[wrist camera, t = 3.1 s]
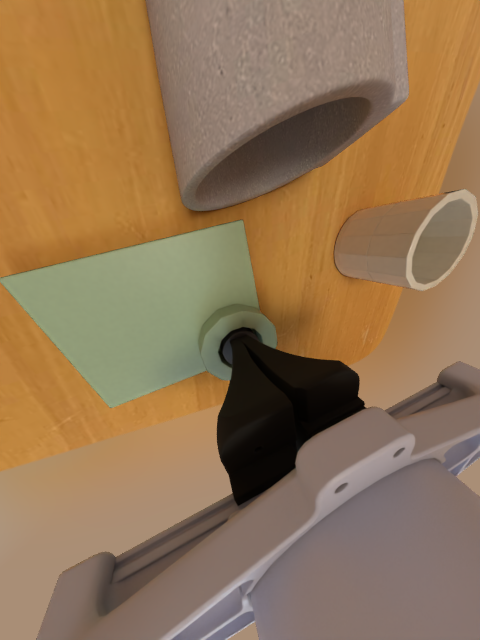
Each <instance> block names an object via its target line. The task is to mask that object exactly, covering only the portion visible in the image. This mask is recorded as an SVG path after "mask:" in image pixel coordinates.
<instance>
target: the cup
mask: <svg viewBox="0 0 480 640" xmlns="http://www.w3.org/2000/svg"><path fill="white" fill-rule="evenodd" d="M477 217H478V208H477V202H476V196H474V195H473V194H472V193H470V192H469V191H468V190H466V189H462V190H457V191H452V192H446V193H441V194H436V195H431V196H426V197H420V198H415V199H410V200H405V201H400V202H395V203H389V204H384V205H379V206H374V207H371V208H366V209H362V210H359V211H358V212H356V213H355V214H353V215H352V216H351V217H350V218H349V219H348V220H347V221H346V222H345V224H344V225H343V227H342V228H341V230H340V232H339V234H338V237H337V240H336V243H335V249H334V259H335V264H336V266H337V268H338V270H339V271H340V272H341V273H342V274H343V275H345V276H348V277H352V278H357V279H362V280H367V281H372V282H377V283H383V284H388V285H393V286H398V287H403V288H409V289H414V290H419V291H424V290H426V289H429V288H431V287H434V286H436V285H437V284H439V283H440V282H441V281H442V280H443V279H444V278H445V277H447V276H448V275H449V274H450V273H451V272H452V270H453V269H454V268H455V266H456V265H457V264H458V262H459V261H460V259H461V258H462V257H463V255H464V253H465V251H466V249H467V247H468V245H469V243H470V241H471V239H472V237H473V234H474V230H475V226H476V221H477Z"/></svg>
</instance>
